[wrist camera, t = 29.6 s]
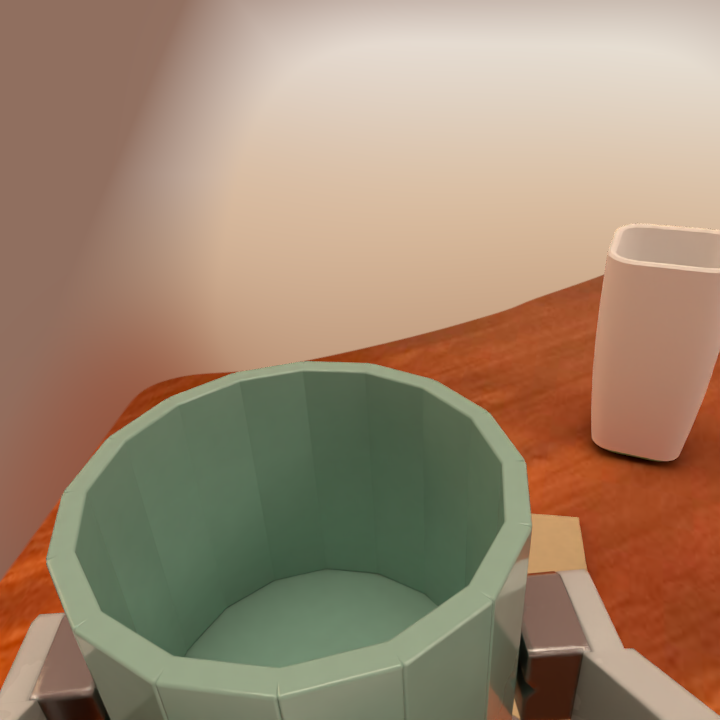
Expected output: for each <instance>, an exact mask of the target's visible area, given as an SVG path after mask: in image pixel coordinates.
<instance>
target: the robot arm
mask: <svg viewBox="0 0 720 720" xmlns="http://www.w3.org/2000/svg"><path fill="white" fill-rule="evenodd" d="M514 699H515V702H516V706H517V709H518V713H519V716H520V720H720V716H719V715H718V714H717V713H715V712H714V711H713V710H711V709H710V708H709V707H708V706H706V705H705V704H704V703H703V702H701V701H700V700H699V699H697V698H696V697H695V696H694V695H692V694H691V693H690V692H688V691H687V690H686V689H685V688H683V687H682V686H681V685H679V684H678V683H677V682H676V681H674V680H673V679H672V678H670V677H669V676H668V675H667V674H665V673H664V672H663V671H662V670H660V669H659V668H658V667H656V666H655V665H654V664H653V663H651V662H650V661H649V660H647V659H646V658H645V657H644V656H642V655H641V654H640V653H638V652H637V651H636V650H635V649H633V648H630V649H624V647H623V644H622V642H621V640H620V638H619V636H618V634H617V632H616V630H615V627H614V625H613V623H612V621H611V619H610V617H609V615H608V613H607V610H606V608H605V606H604V604H603V602H602V600H601V598H600V596H599V593H598V591H597V589H596V587H595V585H594V583H593V581H592V579H591V576H590V574H589V573H588V572H587V571H586V570H585V569H578V570H566V571H557V572H555V571H549V572H538V573H528V574H527V582H526V591H525V601H524V610H523V619H522V629H521V638H520V648H519V657H518V666H517V676H516V685H515V694H514ZM0 720H110V718H109V715H108V713H107V711H106V709H105V706H104V704H103V702H102V699H101V697H100V695H99V692H98V690H97V688H96V685H95V683H94V681H93V678H92V676H91V674H90V671H89V669H88V667H87V665H86V662H85V660H84V658H83V655H82V653H81V651H80V648H79V646H78V644H77V641H76V639H75V637H74V634H73V632H72V630H71V627H70V625H69V622H68V619H67V617H66V614H65V613H53V614H39V616H38V617H37V618H36V619H35V620H34V621H33V622H32V623H31V625H30V627H29V630H28V632H27V634H26V636H25V638H24V641H23V643H22V645H21V647H20V649H19V651H18V654H17V656H16V658H15V660H14V662H13V664H12V667H11V669H10V671H9V673H8V675H7V678H6V680H5V682H4V684H3V686H2V688H1V691H0Z"/></svg>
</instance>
